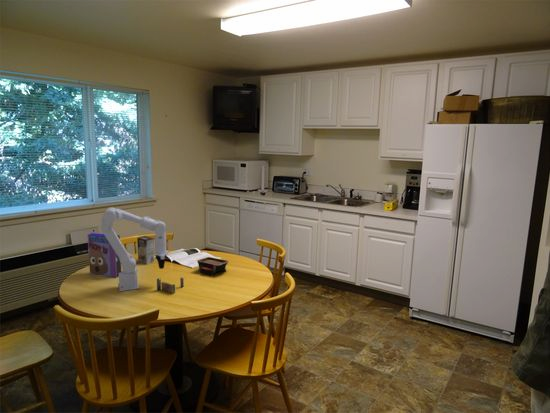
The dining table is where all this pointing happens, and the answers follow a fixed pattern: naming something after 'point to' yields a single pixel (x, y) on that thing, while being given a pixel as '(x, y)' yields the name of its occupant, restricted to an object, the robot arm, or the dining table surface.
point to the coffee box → (145, 249)
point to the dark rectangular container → (211, 265)
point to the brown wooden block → (168, 287)
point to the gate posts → (160, 283)
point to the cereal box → (102, 256)
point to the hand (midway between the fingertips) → (161, 268)
